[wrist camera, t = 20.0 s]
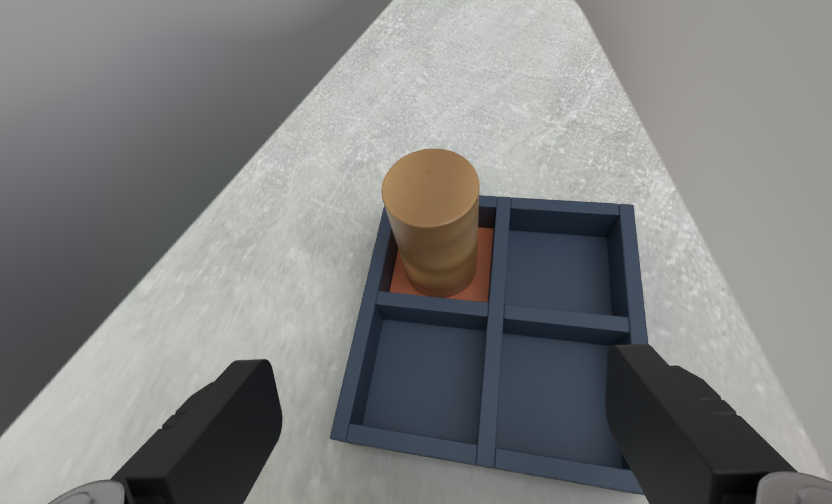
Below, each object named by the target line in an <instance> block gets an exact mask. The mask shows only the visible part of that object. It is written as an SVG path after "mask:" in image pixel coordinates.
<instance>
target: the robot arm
mask: <svg viewBox="0 0 832 504" xmlns="http://www.w3.org/2000/svg"><path fill="white" fill-rule="evenodd" d="M605 408H606V416H607V421H608V425H609V428H610V431H611V433H612V435H613V437H614V439H615V441H616V443H617V444H618V446H619V448H620V450H621V452H622V454H623V456H624V457H625V459H626V461H627V463H628V465H629V467H630V469H631V470H632V472H633V474H634V476H635V478H636V480H637V482H638V483H639V485H640V487H641V489H642V491H643V493H644V494H645V496H646V498H647V500H648V502H649V504H832V482H830V481H828V480H825V479H823V478H819V477H816V476H813V475H809V474H804V473H798V472H797V471H796V470H795V469H794V468H793V467H792V466H791V465H790V464H789V463H788V462H787V461H786V460H785V459H784V458H783V457H782V456H781V455H780V454H779V453H778V452H777V451H776V450H775V449H774V448H773V447H772V446H770V445H769V444H768V443H767V442H766V441H765V440H764V439H763V438H762V437H761V436H760V435H759V434H758V433H757V432H756V431H755V430H754V429H753V428H752V427H751V426H750V425H749V424H748V423H747V422H746V421H745V420H744V419H743V418H742V417H741V416H737V415H736V411H735V410H734V409H733V408H732V407H731V406H730V405H729V404H728V403H726V402H725V401H724V400H721V397H720V396H719V395H718V394H717V393H716V392H715V391H714V390H713V389H712V388H711V387H710V386H709V385H708V384H707V383H706V382H705V381H704V380H703V379H701V378H699V377H698V376H696V375H694V374H692V373H690V372H689V371H687V370H685V369H683V368H681V367H680V366H669V365H668V364H667V363H666V362H665V361H664V360H663V359H662V357H661V356H660V355H659V354H658V353H657V352H656V351H655V350H654V349H653V348H652V347H651V346H650V345H648V344H629V345H611V346H610V348H609V350H608V356H607V378H606V400H605ZM281 429H282V411H281V406H280V401H279V397H278V392H277V388H276V383H275V379H274V374H273V370H272V366H271V364H270V362H269V361H268V360H266V359H258V360H237V361H234V362H232V363H231V364H230V365H229V366H228V367H227V369H226V370H225V371H224V372H223V373H222V374H221V375H220V376H219V377H218V378H217V379H216V380H215V381H214V382H212V383H210V384H208V385H207V386H205V387H204V388H202V389H201V390H199V391H198V392H196V393H195V394H193V395H192V396H190V397H189V398H188V399H187V401H186V402H185V403H184V404H183V405H182V406H181V407H180V408H179V409H178V410H177V411H176V414H175V415H172V416H171V417H170V418H169V419H168V420H167V421H166V422H165V423H164V424H163V425H162V429H158V430H157V431H156V432H155V434H154V435H153V436H152V437H151V438H150V439H149V440H148V441H147V442H146V443H145V444H144V445H143V446H142V447H141V448H140V449H139V450H138V451H137V452H136V453H135V454H134V455H133V456H132V457H131V458H130V459H129V460H128V461H127V462H126V463H125V464H124V466H123V467H122V468H121V469H120V470H119V471H118V472H117V473H116V474H115V475H114V476H113V477H112V478H111V479H110V480H99V481H94V482H91V483H87V484H84V485H82V486H79V487H77V488H74V489H72V490H70V491H68V492H66V493H64V494H62V495H61V496H59V497H57V498H56V499H54V500H52V501H51V502H50V503H48V504H243V503H244V502H245V500H246V498H247V496H248V494H249V492H250V491H251V489H252V487H253V485H254V483H255V482H256V480H257V478H258V476H259V474H260V472H261V471H262V469H263V467H264V465H265V463H266V461H267V460H268V458H269V456H270V454H271V452H272V451H273V449H274V447H275V445H276V443H277V441H278V439H279V437H280V433H281Z"/></svg>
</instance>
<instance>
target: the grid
mask: <svg viewBox="0 0 832 504" xmlns="http://www.w3.org/2000/svg"><path fill="white" fill-rule="evenodd" d="M629 344H648V338H647V328H646V319H645V309H644V300H643V290H642V281H641V271H640V262H639V253H638V243H637V234H636V224H635V215H634V206H633V205H628V204H619V205H618V204H613V203H596V202H579V201H562V200H545V199H528V198H511V197H496V196H480V195H479V216H478V246H477V269H476V274H475V276H474V278H473V280H472V282H471V283H470V284H469V286H468V287H467V288H465V289H464V290H463V291H461V292H460V293H458V294H456V295H453V296H450V297H444V298H440V297H431V296H427V295H425V294H423V293H421V292H419V291H418V290H417V289H415V288H414V286H413V285H412V284H411V283H410V281H409V279H408V277H407V274H406V271H405V268H404V265H403V261H402V258H401V255H400V252H399V249H398V246H397V243H396V240H395V237H394V234H393V230H392V227H391V224H390V221H389V218H388V215H387V212H386V209H385V206H384V208H383V213H382V217H381V221H380V226H379V230H378V234H377V238H376V243H375V247H374V251H373V255H372V260H371V264H370V268H369V273H368V277H367V281H366V285H365V290H364V294H363V298H362V302H361V307H360V311H359V315H358V320H357V324H356V328H355V332H354V337H353V341H352V345H351V350H350V354H349V358H348V362H347V367H346V371H345V375H344V379H343V384H342V388H341V392H340V397H339V401H338V405H337V409H336V414H335V418H334V422H333V426H332V431H331V435H330V439H333V440H337V441H341V442H346V443H351V444H357V445H362V446H368V447H374V448H379V449H385V450H391V451H396V452H402V453H408V454H413V455H419V456H425V457H430V458H436V459H442V460H447V461H453V462H459V463H464V464H470V465H476V466H481V467H487V468H493V469H498V470H504V471H510V472H515V473H521V474H527V475H532V476H538V477H544V478H549V479H555V480H561V481H566V482H572V483H578V484H583V485H589V486H595V487H600V488H606V489H612V490H617V491H623V492H629V493H634V494H641V495H645V494H644V493H643V491H642V489H641V487H640V485H639V483H638V482H637V480H636V478H635V476H634V474H633V472H632V470H631V469H630V467H629V465H628V463H627V461H626V459H625V457H624V456H623V454H622V452H621V450H620V448H619V446H618V444H617V443H616V441H615V439H614V437H613V435H612V433H611V431H610V428H609V425H608V421H607V416H606V408H605V400H606V378H607V356H608V350H609V348H610V346H611V345H629Z"/></svg>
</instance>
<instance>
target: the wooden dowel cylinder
mask: <svg viewBox="0 0 832 504" xmlns="http://www.w3.org/2000/svg"><path fill="white" fill-rule="evenodd" d="M382 199H383V203H384V206H385V209H386V212H387V215H388V218H389V221H390V224H391V227H392V230H393V234H394V237H395V240H396V243H397V246H398V249H399V252H400V255H401V258H402V261H403V265H404V268H405V271H406V274H407V277H408V279H409V281H410V283H411V284H412V285H413V286H414V288H415V289H417V290H418V291H419V292H421V293H423V294H425V295H427V296H431V297H440V298H444V297H450V296H453V295H456V294H458V293H460V292H461V291H463V290H464V289H465V288H467V287H468V286H469V284H470V283H471V282H472V280H473V278H474V276H475V274H476V269H477V246H478V216H479V178H478V175H477V173H476V171H475V169H474V167H473V166H472V165H471V164H470V163H469V162H468V161H467V160H466V159H465V158H464V157H462V156H460V155H459V154H457V153H454V152H451V151H448V150H443V149H424V150H419V151H416V152H413V153H410V154H408V155H406V156H404V157H403V158H401V159H400V160H398V161H397V162H396V163H395V164H394V165H393V166H392V167H391V168H390V169H389V171H388V172H387V174H386V176H385V178H384V181H383V184H382Z"/></svg>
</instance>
